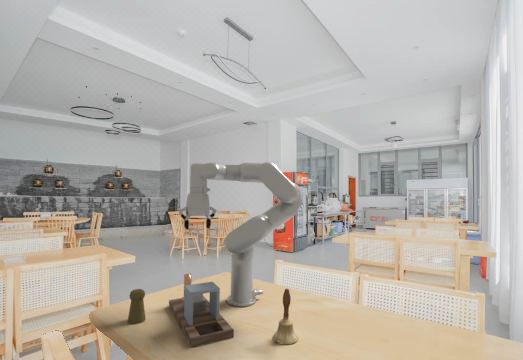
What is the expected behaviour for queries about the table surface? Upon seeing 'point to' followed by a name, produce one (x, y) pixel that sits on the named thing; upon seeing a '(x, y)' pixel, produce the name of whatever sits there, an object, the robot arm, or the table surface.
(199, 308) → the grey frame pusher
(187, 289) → the tunnel
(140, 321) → the cork
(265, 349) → the table surface
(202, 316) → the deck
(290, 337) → the hand bell
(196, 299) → the cream block
